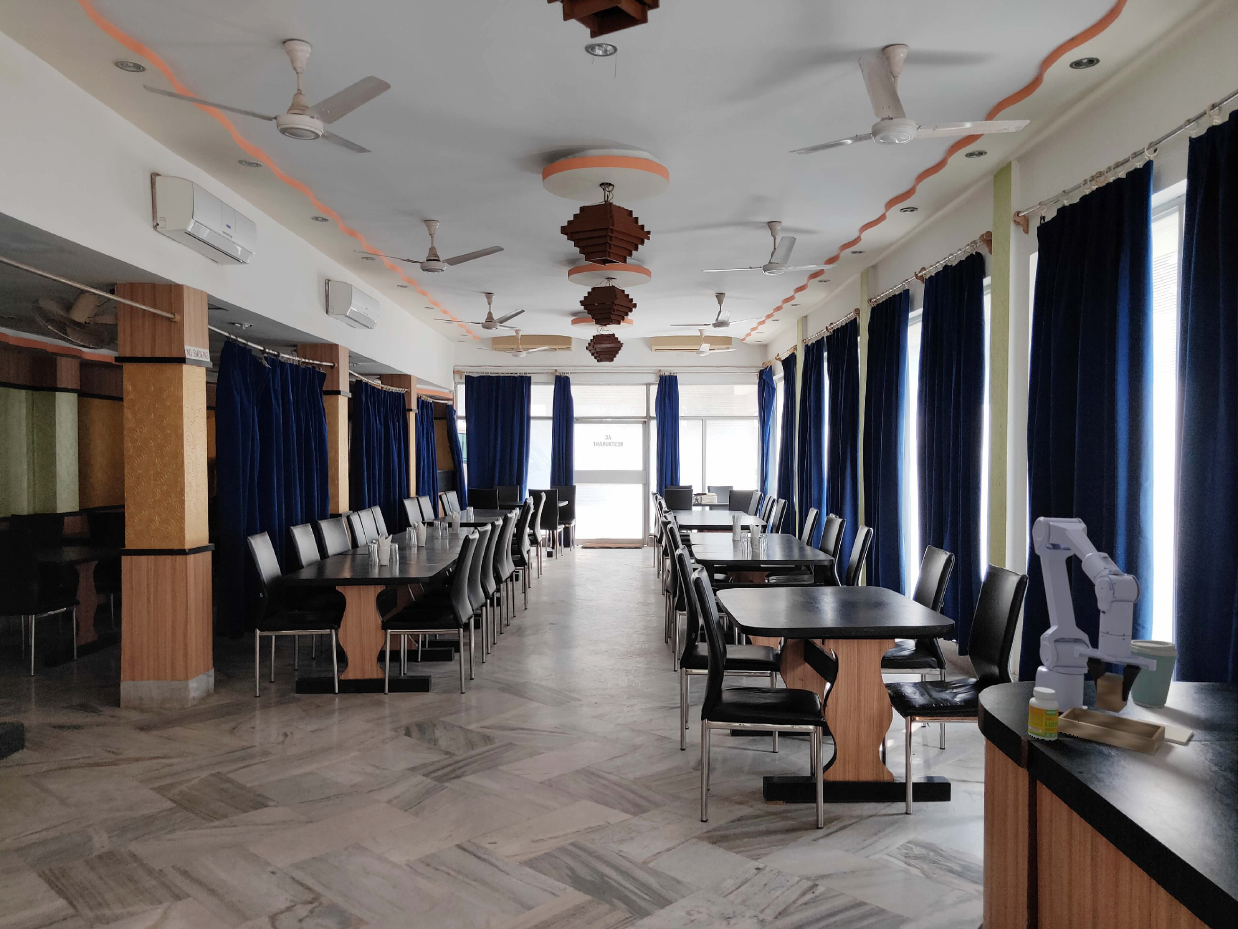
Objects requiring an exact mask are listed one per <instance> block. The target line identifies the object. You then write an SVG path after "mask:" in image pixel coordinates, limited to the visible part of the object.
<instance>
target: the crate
mask: <svg viewBox="0 0 1238 929" xmlns="http://www.w3.org/2000/svg"><path fill="white" fill-rule="evenodd" d="M1078 721H1079V722H1078ZM1060 732H1062V733H1061V734H1064V733H1066V734H1065V735H1069V734H1071V735H1070V736H1073V735H1074V736H1073V737H1077V736H1078V737H1077V738H1081V739H1086V740H1089V739H1090V741H1094V742H1098V743H1101V744H1107V745H1110V744H1111V745H1110V746H1115V747H1119V748H1123V749H1127V750H1132V751H1135V752H1139V753H1144V754H1147V755H1152V756H1155V754H1156V753H1157V751H1158V750H1159V749H1160V748H1161V747H1162V745H1163V744H1164V743H1165V742H1166V741H1165V726H1160V725H1156V724H1151V723H1146V722H1142V721H1137V719H1133V718H1127V717H1123V716H1118V715H1115V714H1109V713H1104V712H1100V711H1097V710H1091V709H1083V708H1078V707H1074V706H1072V707H1071V708H1070V709H1068V710H1067V711H1066V712H1065V713H1063V712H1062V714H1061V715H1059V716H1058V733H1060Z"/></svg>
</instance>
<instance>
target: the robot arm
mask: <svg viewBox="0 0 1238 929" xmlns="http://www.w3.org/2000/svg"><path fill="white" fill-rule="evenodd" d="M1087 530H1088V528H1087V525H1086V524H1085V522H1084V521H1083V520H1082V519H1081V518H1079V517H1074V518H1069V517H1067V518H1062V517H1044V516H1040V517H1038V518H1037V519H1036V520H1035V522H1034V524H1033V526H1032V540H1033V545H1034V552H1035V554H1036V555H1037V556H1039V558H1040V565H1041V572H1042V576H1043V583H1044V590H1045V596H1046V603H1047V610H1048V615H1049V623H1050V628H1048V629H1047V630H1046V631H1045V632H1044V633H1043V634H1041V636H1040V648H1039V656H1040V660H1041V662H1042V664H1043V665H1040V666H1038V668H1037V670H1036V674H1035V687H1044V688H1049V689H1052V690H1054V691H1055V699H1054V701H1056V702H1057V703H1058V705H1059V712H1060V713H1062V714H1063V713H1065V712H1066V711H1067V710H1068V709H1070V708H1071V707H1072V706H1074V707H1078V708H1083V709H1087V710H1089V709H1088V708H1089V707H1088V706H1086V705H1084V704H1083V703H1084V702H1083V701H1084V700H1083V699H1084V681H1085V674H1088V670H1089V672H1090V675H1091V678H1092V680H1093V683H1094V687H1095V692H1096V693H1095V694H1096V695H1097V679H1099V678H1100V677H1101V676H1103V675H1104V674H1105V673H1104V672H1105V664H1106V663H1110V664H1116V665H1122V666H1124V667H1122V675H1123V693H1122V701H1125V702H1126V701H1127V702H1128V701H1129V697H1130V694H1131V687H1132V685H1133V683H1134V681H1135V679H1136V677H1137V676H1138V674H1139V673H1140V671H1141V669H1142V668H1143V669H1148V670H1150V671H1155V670H1156V660H1152V659H1147V658H1143V657H1139V656H1135V655H1131V640H1132V635H1133V617H1134V616H1133V615H1134V613H1133V612H1134V604H1136V603H1137V602H1138V601H1139V600H1140V597H1141V593H1142V592H1141V590H1142V589H1141V584H1140V582H1139V580H1138V579H1137V577H1136V576H1135V575H1133V574H1128V573H1124V572H1123V571H1122V570H1121V569H1120V568H1119V566H1117V564H1116V563H1115V562H1114V561H1113V560H1112V559H1111V557H1110V555H1108V553H1106V552H1102V551H1101V552H1099V551H1098V550H1097V549H1096V547H1095V546H1094V545H1093V543H1092V542H1091V541H1090V539H1089V538H1088V536H1087V534H1088V533H1087V532H1088V531H1087ZM1073 555H1076V556H1077V557H1078V558H1079V559H1080V560H1081V561H1082V562H1081V568H1082V571H1083V572H1084V573H1085V574H1086V575H1087V576H1088V578H1089V579H1090V580H1091V581H1092V583H1093V585H1095V586H1094V590H1095V591H1094V592H1095V595H1096V596H1095V597H1096V598H1097V608H1098V610H1100V615H1099V631H1098V632H1099V634H1098V648H1093V647H1092V645H1091V643H1090V639H1089V636H1088V634H1087V633H1085V632H1084V631H1082V630H1081V629H1080V628H1078V627H1077V625H1076V620H1075V619H1076V618H1075V613H1074V606H1073V601H1072V600H1073V599H1072V595H1071V590H1070V589H1071V588H1070V583H1069V582H1070V581H1069V576H1068V571H1067V570H1068V569H1067V564H1066V560H1067V558H1068V557H1071V556H1073ZM1035 687H1034V688H1035Z"/></svg>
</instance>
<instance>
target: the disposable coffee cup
mask: <svg viewBox="0 0 1238 929" xmlns="http://www.w3.org/2000/svg"><path fill="white" fill-rule="evenodd" d="M1131 655H1135V656H1139V657H1143V658H1147V659H1152V660H1156V670H1155V671H1150V670H1148V669H1143V668H1142V669H1141V671H1140V673H1139V674H1138V676H1137V677H1136V679H1135V681H1134V683H1133V685H1132V687H1131V690H1130V698H1131V699H1132V702H1133V703H1134V704H1136V705H1139V706H1142V707H1147V708H1154V709H1163V708H1164V707H1165V705H1166V704H1167V700H1168V696H1169V691H1170V686H1171V682H1172V679H1173V674H1174V669H1175V666H1176V665H1175V664H1176V660H1177V657H1178V655H1179V653H1178V650H1177V649H1176V644H1175V643H1173V642H1170V641H1165V640H1155V639H1131Z"/></svg>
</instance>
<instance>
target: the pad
mask: <svg viewBox="0 0 1238 929" xmlns="http://www.w3.org/2000/svg"><path fill="white" fill-rule="evenodd" d="M1136 720H1137V721H1142V722H1146V723H1151V724H1156V725H1160V726H1165V741H1164V742H1169V743H1174V744H1179V745H1182V746H1186V744H1188V743H1187V742H1188V741H1189V740H1190V738H1191V737H1192V735H1193V733H1194V730H1192V729H1188V728H1184V727H1178V726H1173V725H1169V724H1164V723H1159V722H1155V721H1151V720H1146V719H1142V718H1137V719H1136ZM1188 739H1189V740H1188Z"/></svg>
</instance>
